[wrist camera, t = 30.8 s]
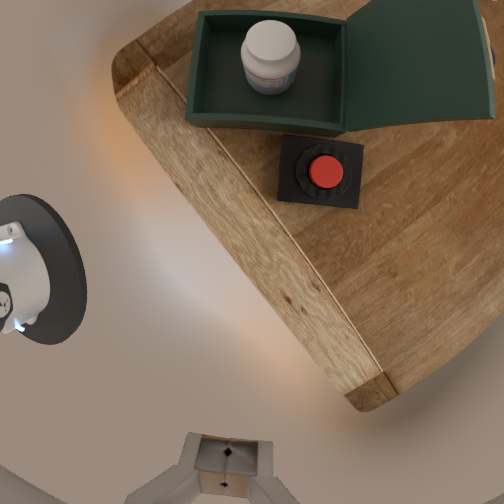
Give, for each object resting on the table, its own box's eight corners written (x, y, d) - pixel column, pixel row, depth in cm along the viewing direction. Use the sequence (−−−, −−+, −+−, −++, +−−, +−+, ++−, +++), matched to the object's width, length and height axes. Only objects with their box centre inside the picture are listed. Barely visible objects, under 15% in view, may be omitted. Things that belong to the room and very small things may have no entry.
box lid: (489, 115, 12) (519, 136, 13) (454, -49, 8) (490, -19, 9) (344, 130, 29) (378, 138, 30) (346, 18, 25) (378, 30, 26)
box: (196, 127, 36) (184, 119, 30) (207, 30, 32) (198, 11, 26) (335, 137, 35) (346, 131, 29) (338, 39, 31) (348, 21, 26)
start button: (307, 185, 33) (309, 186, 32) (309, 154, 32) (312, 153, 31) (337, 189, 33) (341, 189, 32) (340, 158, 32) (344, 157, 31)
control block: (276, 199, 37) (278, 202, 34) (281, 136, 35) (283, 132, 32) (353, 207, 37) (362, 211, 33) (358, 146, 35) (368, 143, 31)
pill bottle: (274, 46, 31) (277, 4, 21) (304, 80, 33) (318, 46, 22) (236, 71, 33) (224, 34, 22) (265, 105, 34) (264, 78, 23)
